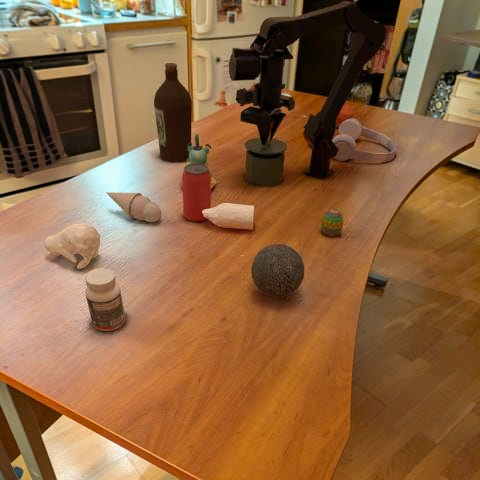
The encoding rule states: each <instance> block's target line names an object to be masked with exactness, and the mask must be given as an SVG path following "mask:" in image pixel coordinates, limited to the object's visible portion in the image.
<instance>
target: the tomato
mask: <svg viewBox="0 0 480 480" xmlns="http://www.w3.org/2000/svg"><path fill="white" fill-rule="evenodd" d="M351 118H354V108H353V106H352V105H351V104H349V103H348V102H345V104H344V106H343V108H342V109H341V111H340V113H339V115H338V117H337V120H336V128H337V129H339V126H340V124H341V123H342V122H344V121H345V120H347V119H351Z"/></svg>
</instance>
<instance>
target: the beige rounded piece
mask: <svg viewBox="0 0 480 480" xmlns="http://www.w3.org/2000/svg"><path fill="white" fill-rule="evenodd" d="M100 246H101V234H100V233H99V232H98V230H97V228H96V227H95V226H93V225H89V224H87V223H81V222H75V223H72V224H70V225H68V226H66V227H65V228H63V229H62V230H61V231H60V232H59V233H57V234H56V235H55V234H52V235H49V236H47V237H46V239H45V240H44V248H45V250H46V251H47V252H48V253H49V256H51V257H53V259H56V257H57V256H58V257H60V256H62V257H64V258H66V259H67V260H69V261H71V262H72V263H77V260H78V259H77V257H76V256H75V255H78V254H79V255H81V257H83V259H81V260H80V261H79V262H78V264H77V265H76V268H77V269H78V270H82V269H83V268H85V267H87V266H88V265H89V264H90V262H91V260H93V259H95V258H97V256H98V255H99V251H100V250H99V249H100Z"/></svg>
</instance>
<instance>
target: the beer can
mask: <svg viewBox="0 0 480 480" xmlns="http://www.w3.org/2000/svg"><path fill="white" fill-rule="evenodd" d="M208 169H209V166H208V167H207V166H206V164H205V165H203V164H198V163H194V164H191V163H188V164H186V165H185V166H184V167H183V172H182V176H181V183H182V185H181V187H182V209H183V216H184V217H185V218H186V219H187V220H188V221H192V222H204V221H206V220H208V219H207V218H205V217H204V215H203V213H202V211H203V210H204V209H210V208H212V188H211V176H212V175H211V173H209V171H210V170H209V171H208Z"/></svg>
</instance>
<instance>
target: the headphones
mask: <svg viewBox="0 0 480 480" xmlns="http://www.w3.org/2000/svg"><path fill="white" fill-rule="evenodd" d="M360 137H364V138H367V139H369V140H372V141H375V142H376V143H379V144H381V145H383V146H384V147H385V148H386V149H388V150H389V151H388V152H373V151H371V152H370V151H364V150H362V149H361V150H360V149H358V148H357V143H356V141H357V140H358V139H359V138H360ZM332 141H333V143H334V144H335V145H336V146H337V148H338V149H339V150H338V152H337V154H336V156H335V157H333V158H334V159H335V160H337V161H339V162H344V161H347V160H350V159H351V160H358V161H363V162H367V163H368V162H370V163H386V162H390V161H392V160H393V159H394V158H395V156H396V153H397V150H398V145H397V143H396V141H394V140H393V139H392V138H390V137H388V136H386V135H385V134H383V133H381V132H380V131H377V130H374V129H372V128H369V127H365V126H364V125H363V124H362V123H361V121H360V120H359V119H357V118H354V117H353V118H351V119H347V120H345V121H344V122H342V123H341V124H340V126H339V128H338V135H335V136H334V137H333V140H332Z"/></svg>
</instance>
